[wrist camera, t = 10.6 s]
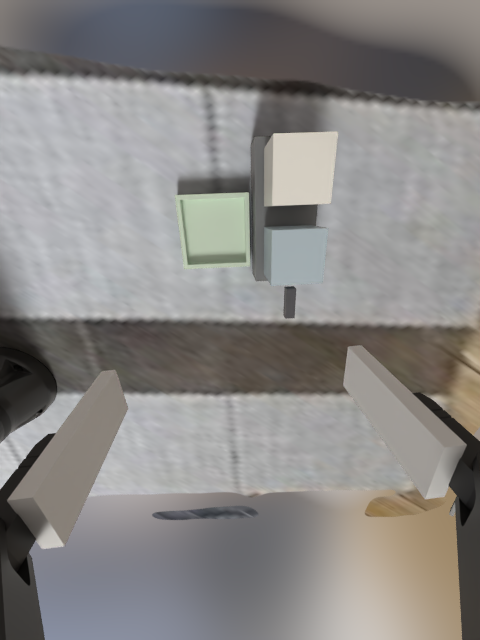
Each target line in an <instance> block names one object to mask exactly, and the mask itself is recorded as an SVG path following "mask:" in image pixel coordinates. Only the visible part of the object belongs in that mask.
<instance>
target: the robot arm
mask: <svg viewBox="0 0 480 640" xmlns="http://www.w3.org/2000/svg"><path fill="white" fill-rule="evenodd" d="M343 386H344V387H345V388H346V390H347V391H348V393H349V394H350V395H351V397H352V398H353V400H354V401H355V402H356V404H357V405H358V407H359V408H360V409H361V411H362V412H363V414H364V415H365V416H366V418H367V419H368V420H369V422H370V423H371V425H372V426H373V427H374V429H375V430H376V432H377V433H378V434H379V436H380V437H381V439H382V440H383V441H384V443H385V444H386V446H387V447H388V448H389V450H390V451H391V453H392V454H393V455H394V457H395V458H396V460H397V461H398V462H399V464H400V465H401V467H402V468H403V469H404V471H405V472H406V474H407V475H408V476H409V478H410V479H411V481H412V482H413V483H414V485H415V486H416V488H417V489H418V490H419V492H420V493H421V494H422V496H423V497H424V499H430V498H438V497H444V496H445V494H446V492H447V489H448V487H449V486H450V488H451V489H452V490H453V491H454V492H455V494H456V495H457V497H456V499H455V501H454V503H453V505H452V507H451V510H450V513H449V515H451V516H453V515H454V513H455V511H456V530H457V548H458V566H459V585H460V605H461V622H462V640H480V441H479V440H478V439H476V438H475V437H474V436H473V435H472V434H471V433H470V432H468V431H467V430H466V429H465V428H464V427H463V426H462V425H460V424H459V423H458V422H457V421H456V420H455V419H454V418H451V416H450V415H449V414H448V413H447V412H446V411H445V410H444V411H443V409H442V408H441V407H440V406H439V405H438V404H437V403H436V402H434V401H433V400H432V399H430V398H428V397H427V396H425V395H423V394H421V393H411V392H410V391H409V390H408V389H407V388H406V387H405V386H404V385H403V384H402V383H401V382H400V381H399V380H398V379H396V378H395V377H394V376H393V375H392V374H391V373H390V372H389V371H388V370H387V369H386V368H385V367H384V366H383V365H382V364H381V363H379V362H378V361H377V360H376V359H375V358H374V357H373V356H372V355H371V354H370V353H369V352H368V351H367V350H366V349H365V348H363V347H362V346H361V345H360V346H350V347H348V352H347V360H346V368H345V376H344V383H343ZM56 394H57V387H56V383H55V380H54V378H53V376H52V375H51V373H50V372H49V370H48V369H47V368H46V367H45V366H44V365H43V364H42V363H40V362H39V361H38V360H36V359H35V358H33V357H31V356H30V355H28V354H25V353H23V352H20V351H17V350H14V349H9V348H0V443H1V442H2V441H3V440H4V439H5V438H6V437H7V436H8V435H9V434H10V433H12V432H13V431H15V430H17V429H18V428H20V427H22V426H23V425H25V424H27V423H28V422H30V421H32V420H33V419H35V418H37V417H38V416H40V415H41V414H42V413H44V412H45V411H46V410H47V408H48V407H49V406H50V405H51V404H52V403H53V401H54V400H55V397H56ZM127 410H128V406H127V403H126V400H125V397H124V394H123V391H122V388H121V385H120V382H119V379H118V376H117V373H116V370H110V371H101V373H100V374H99V375H98V377H97V378H96V379H95V381H94V382H93V384H92V385H91V386H90V388H89V389H88V390H87V392H86V393H85V395H84V396H83V397H82V399H81V400H80V401H79V403H78V404H77V405H76V407H75V408H74V410H73V411H72V412H71V414H70V415H69V416H68V418H67V419H66V420H65V422H64V423H63V425H62V426H61V427H60V429H59V430H58V431H57V433H54V434H48V435H47V436H45V437H44V438H43V439H42V440H41V441H40V442H38V443H37V444H36V445H35V446H34V447H33V449H32V450H31V451H30V452H29V454H28V455H27V456H26V459H24V460H23V461H22V463H21V464H20V465H19V467H18V469H16V470H15V472H14V473H13V474H12V475H11V477H10V478H9V479H8V481H7V482H6V483H5V484H4V486H3V487H2V488H1V489H0V640H45V638H44V632H43V625H42V619H41V613H40V607H39V600H38V593H37V587H36V581H35V575H34V569H33V562H32V558H31V556H30V554H29V551H30V549H31V547H32V546H33V544H34V542H35V540H36V541H37V542H38V544H39V545H40V547H41V548H42V549H47V548H55V547H62V546H65V545H66V543H67V541H68V538H69V536H70V534H71V532H72V530H73V527H74V525H75V523H76V521H77V519H78V517H79V514H80V512H81V510H82V508H83V506H84V503H85V501H86V499H87V497H88V495H89V493H90V490H91V488H92V486H93V484H94V482H95V480H96V477H97V475H98V473H99V471H100V469H101V466H102V464H103V462H104V460H105V458H106V456H107V453H108V451H109V449H110V447H111V445H112V443H113V440H114V438H115V436H116V434H117V432H118V429H119V427H120V425H121V423H122V421H123V419H124V416H125V414H126V412H127Z"/></svg>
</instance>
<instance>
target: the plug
mask: <svg viewBox="0 0 480 640" xmlns="http://www.w3.org/2000/svg"><path fill="white" fill-rule="evenodd" d="M337 138H338V132H306V133H273V135H272V137H271V138H270V140H269V141H268V143H267V145H266V146H265V148H264V207H265V206H291V205H315V204H331V196H332V187H333V177H334V167H335V158H336V148H337Z"/></svg>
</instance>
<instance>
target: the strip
mask: <svg viewBox="0 0 480 640" xmlns="http://www.w3.org/2000/svg"><path fill="white" fill-rule="evenodd" d="M271 137H272V136H258V137H254V139H253V142H252V145H251V201H252V269H253V275H254V278H255V280H256V281H269V283H270V285H271V286H278V285H298V284H319V283H323V275H324V266H325V256H326V247H327V237H328V228H325V227H319V226H316V217H317V205H318V204H315V205H291V206H265V207H264V148H265V146H266V145H267V143H268V141H269V140H270V138H271ZM295 300H296V288H295V287H294V286H291V287H285V291H284V317H285V318H294V316H295Z"/></svg>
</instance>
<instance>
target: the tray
mask: <svg viewBox="0 0 480 640" xmlns="http://www.w3.org/2000/svg"><path fill="white" fill-rule="evenodd" d="M175 201H176V209H177V217H178V225H179V233H180V240H181V248H182V256H183V264H184V269H200V268H222V267H244V266H250V223H249V192H245V193H218V194H191V195H175Z"/></svg>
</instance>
